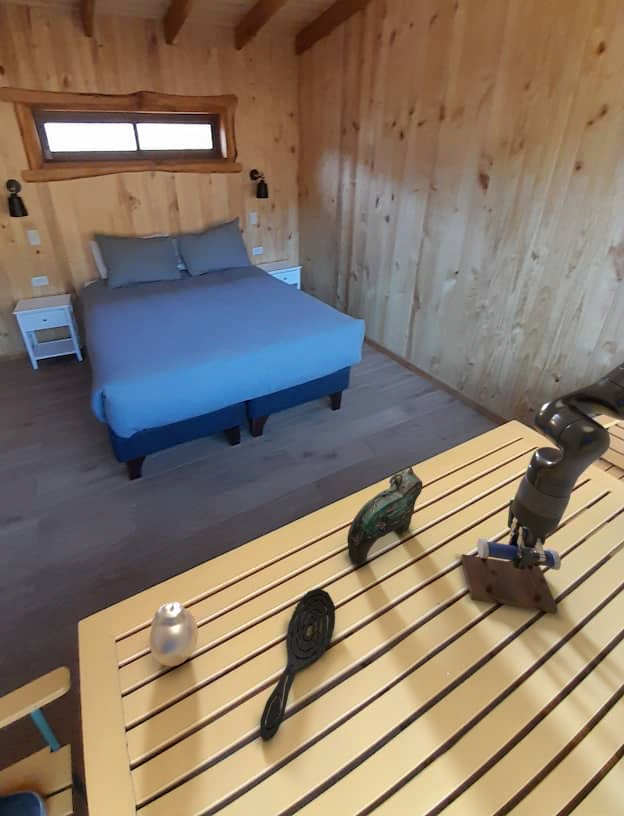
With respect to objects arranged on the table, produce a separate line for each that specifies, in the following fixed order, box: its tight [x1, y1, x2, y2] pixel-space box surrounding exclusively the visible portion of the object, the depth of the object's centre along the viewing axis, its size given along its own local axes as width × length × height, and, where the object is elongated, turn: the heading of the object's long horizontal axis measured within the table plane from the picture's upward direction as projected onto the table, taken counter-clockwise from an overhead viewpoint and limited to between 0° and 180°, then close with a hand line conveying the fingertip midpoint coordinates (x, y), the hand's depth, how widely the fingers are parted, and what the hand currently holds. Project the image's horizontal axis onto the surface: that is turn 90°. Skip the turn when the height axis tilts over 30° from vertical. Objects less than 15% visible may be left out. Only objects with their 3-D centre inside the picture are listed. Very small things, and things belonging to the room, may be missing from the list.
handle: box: [476, 537, 562, 571], centre depth 81 cm, size 14×4×4 cm, turn 79°
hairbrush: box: [259, 587, 336, 742], centre depth 73 cm, size 8×4×25 cm
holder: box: [460, 553, 559, 614], centre depth 84 cm, size 16×9×7 cm, turn 79°
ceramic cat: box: [346, 466, 423, 566], centre depth 90 cm, size 20×6×20 cm, turn 123°
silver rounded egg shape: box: [148, 601, 199, 667], centre depth 74 cm, size 9×10×10 cm
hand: (515, 558), depth 82 cm, fingers closed on handle, 3 cm apart
